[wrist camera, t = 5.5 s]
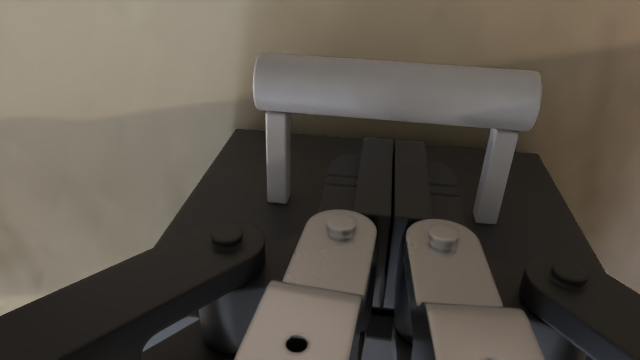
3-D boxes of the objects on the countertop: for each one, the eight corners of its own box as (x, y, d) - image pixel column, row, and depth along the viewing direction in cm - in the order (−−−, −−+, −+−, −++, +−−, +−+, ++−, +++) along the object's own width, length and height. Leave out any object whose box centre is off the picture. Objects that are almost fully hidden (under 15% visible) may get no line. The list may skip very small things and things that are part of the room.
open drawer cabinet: (229, 12, 17) (122, 82, 10) (571, 32, 16) (700, 126, 9) (249, 379, 26) (200, 542, 20) (467, 407, 25) (494, 591, 19)
